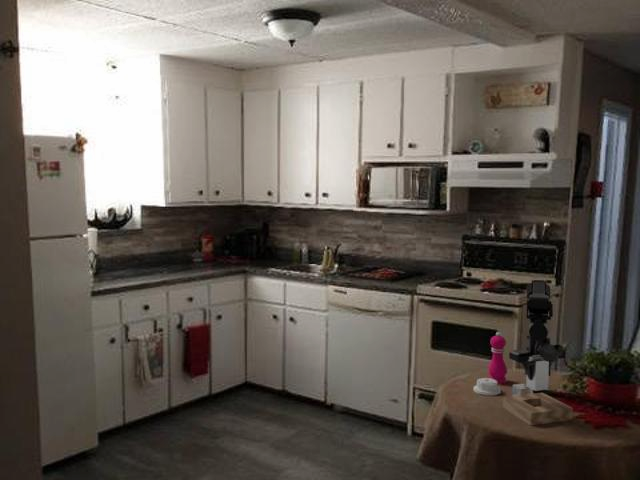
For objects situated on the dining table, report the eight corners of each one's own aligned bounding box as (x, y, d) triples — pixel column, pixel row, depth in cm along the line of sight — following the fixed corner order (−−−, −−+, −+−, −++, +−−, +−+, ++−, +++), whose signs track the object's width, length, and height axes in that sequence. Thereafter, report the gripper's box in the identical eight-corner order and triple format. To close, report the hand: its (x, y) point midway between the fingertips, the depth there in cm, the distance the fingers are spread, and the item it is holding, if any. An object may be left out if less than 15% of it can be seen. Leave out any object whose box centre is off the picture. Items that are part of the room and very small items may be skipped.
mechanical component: (496, 397, 223) (503, 390, 231) (496, 386, 222) (504, 379, 231) (470, 393, 228) (478, 386, 236) (470, 381, 228) (478, 375, 236)
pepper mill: (507, 384, 237) (508, 334, 235) (488, 383, 238) (489, 333, 237) (506, 379, 244) (506, 330, 242) (487, 378, 245) (488, 329, 244)
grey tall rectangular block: (538, 384, 208) (539, 356, 207) (548, 389, 203) (548, 360, 202) (526, 386, 207) (526, 357, 206) (535, 390, 202) (535, 361, 201)
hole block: (542, 403, 215) (542, 392, 215) (572, 419, 200) (572, 407, 200) (502, 408, 211) (502, 397, 211) (530, 425, 196) (530, 413, 195)
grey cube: (524, 396, 223) (524, 383, 223) (532, 401, 218) (532, 387, 218) (512, 398, 222) (512, 384, 221) (520, 402, 217) (520, 389, 217)
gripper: (528, 341, 193) (527, 389, 194) (577, 337, 198) (576, 383, 200) (508, 333, 204) (507, 379, 205) (555, 329, 209) (554, 373, 210)
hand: (537, 379), depth 205 cm, fingers closed on grey tall rectangular block, 5 cm apart
